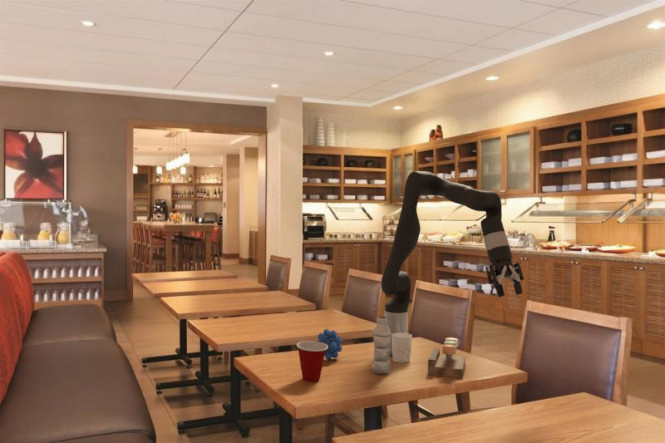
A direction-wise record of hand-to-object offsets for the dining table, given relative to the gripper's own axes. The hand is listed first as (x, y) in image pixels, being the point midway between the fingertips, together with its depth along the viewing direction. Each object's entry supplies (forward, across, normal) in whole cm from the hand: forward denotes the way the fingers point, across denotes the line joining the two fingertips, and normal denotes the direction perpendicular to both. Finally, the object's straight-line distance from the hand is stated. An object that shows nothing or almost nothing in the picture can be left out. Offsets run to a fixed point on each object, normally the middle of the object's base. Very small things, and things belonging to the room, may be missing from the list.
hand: (510, 295), depth 187 cm
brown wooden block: (+19, 0, -37) cm, 42 cm away
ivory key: (+13, -5, -38) cm, 41 cm away
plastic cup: (+14, +50, -50) cm, 72 cm away
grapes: (+8, +31, -67) cm, 74 cm away
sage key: (+14, -1, -35) cm, 38 cm away
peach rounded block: (+16, +4, -31) cm, 35 cm away
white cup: (+13, +7, -54) cm, 56 cm away
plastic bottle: (+16, +24, -45) cm, 54 cm away
